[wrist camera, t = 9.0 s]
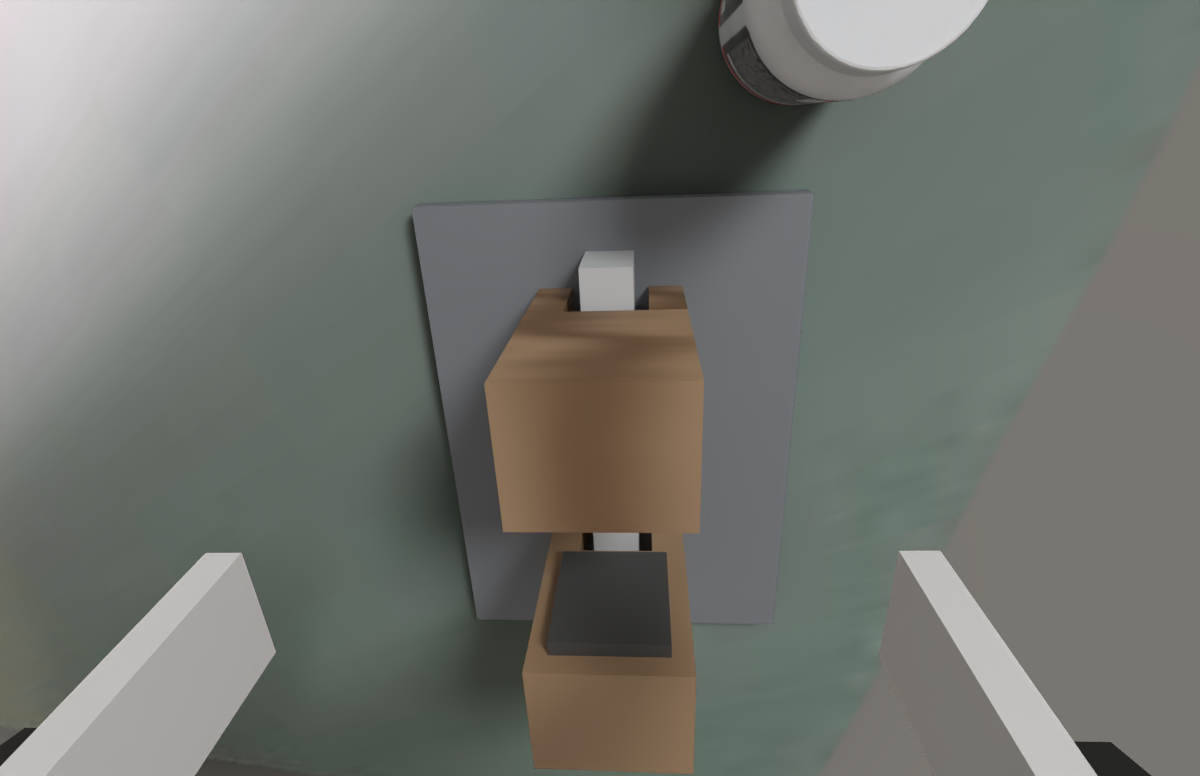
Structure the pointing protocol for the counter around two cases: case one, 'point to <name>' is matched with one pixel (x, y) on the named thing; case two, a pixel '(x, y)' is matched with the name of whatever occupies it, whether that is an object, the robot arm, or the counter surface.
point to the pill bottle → (834, 44)
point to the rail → (729, 449)
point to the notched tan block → (599, 418)
